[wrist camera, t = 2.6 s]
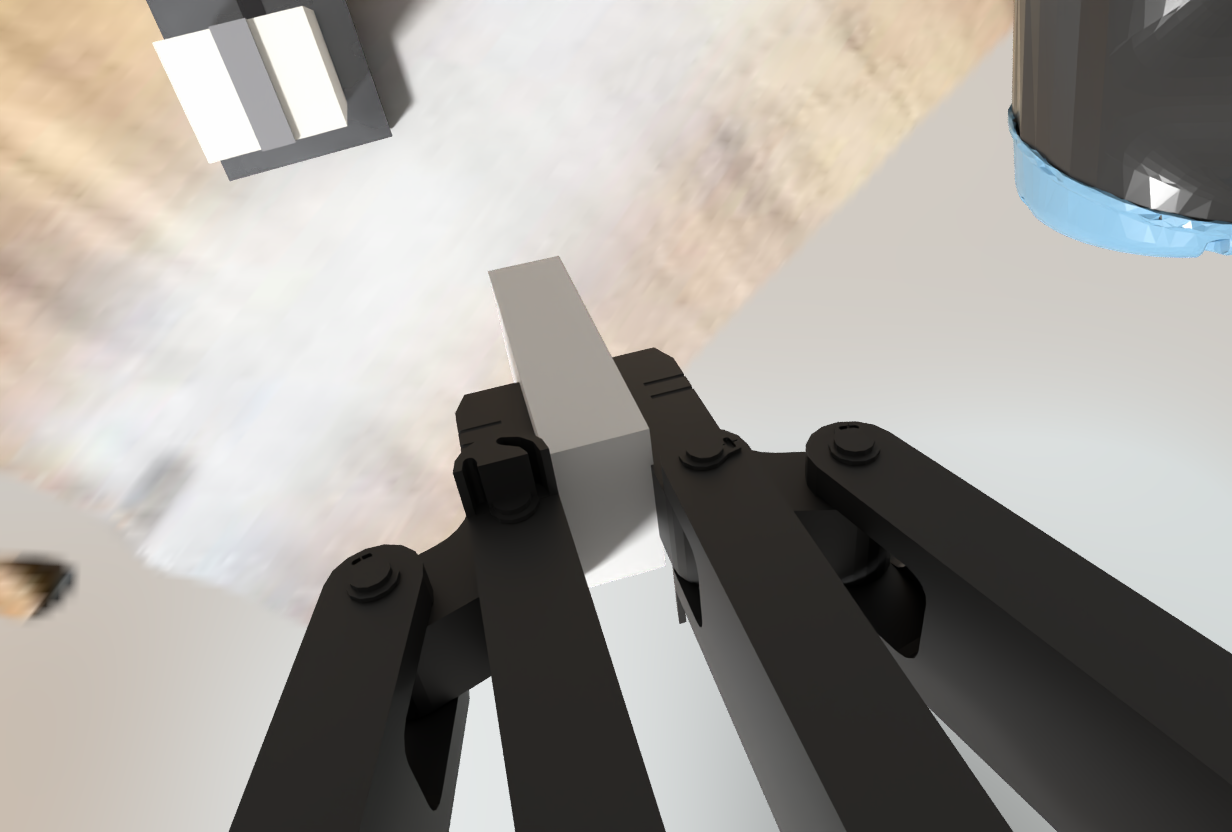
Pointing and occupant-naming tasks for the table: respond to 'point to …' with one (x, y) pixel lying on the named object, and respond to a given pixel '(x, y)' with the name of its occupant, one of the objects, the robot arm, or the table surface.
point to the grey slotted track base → (198, 3)
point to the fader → (255, 82)
